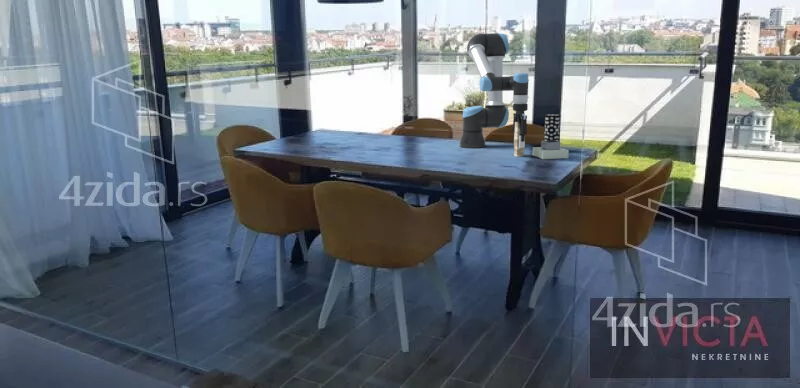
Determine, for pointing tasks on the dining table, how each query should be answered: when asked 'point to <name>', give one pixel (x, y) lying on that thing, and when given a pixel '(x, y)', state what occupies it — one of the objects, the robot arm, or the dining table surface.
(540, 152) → the mounting block
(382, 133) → the dining table surface
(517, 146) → the rail post
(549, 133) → the spotted tube
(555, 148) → the cup bracket
